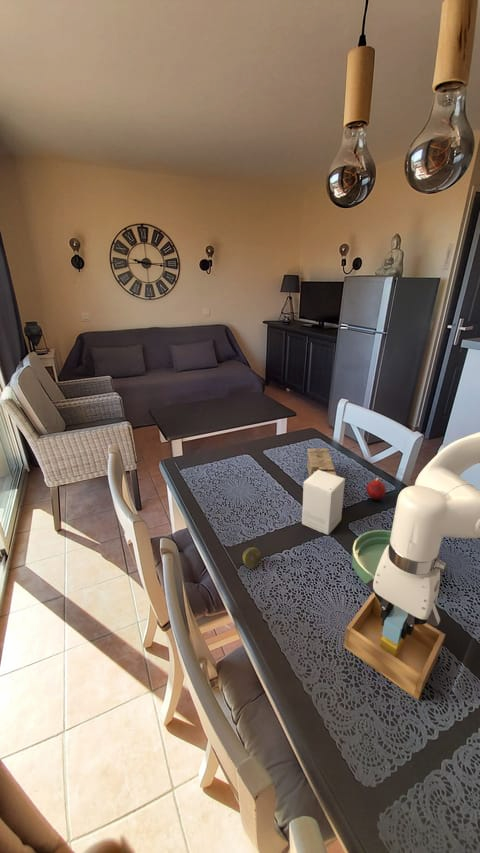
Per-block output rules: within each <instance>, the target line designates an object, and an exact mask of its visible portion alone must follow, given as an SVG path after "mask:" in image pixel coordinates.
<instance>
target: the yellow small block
mask: <svg viewBox="0 0 480 853" xmlns="http://www.w3.org/2000/svg"><path fill="white" fill-rule="evenodd" d="M404 640H405V639H402V638H401V640H400V641H399V643H398V645H396V644H395V643H393V642H392V641H390V640H389V639H387V638H386V637H384V636H383V637H382V638H381V642H380V647H381V648H382V649H384V650H385V651H387V652H388V653H390V654H391V655H393V656H394V657H397V655H398V653H399V652H400V650H401V648H402V646H403V645H404Z"/></svg>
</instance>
